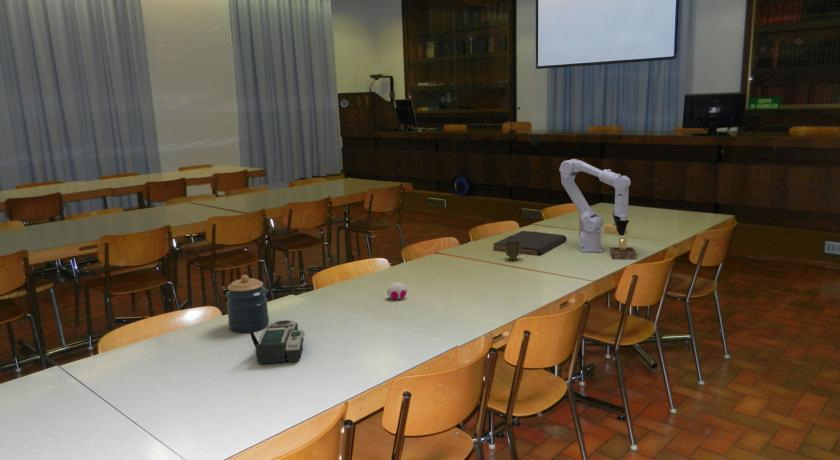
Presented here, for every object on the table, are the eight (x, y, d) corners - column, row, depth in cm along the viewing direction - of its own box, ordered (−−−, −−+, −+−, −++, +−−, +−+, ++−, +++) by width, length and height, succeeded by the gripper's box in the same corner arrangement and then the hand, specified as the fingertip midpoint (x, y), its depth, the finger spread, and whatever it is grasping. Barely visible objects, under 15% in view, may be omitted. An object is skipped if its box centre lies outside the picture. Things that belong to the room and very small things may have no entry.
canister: (253, 317, 216) (249, 267, 212) (277, 324, 207) (273, 273, 204) (220, 328, 206) (215, 276, 202) (244, 336, 198) (239, 283, 194)
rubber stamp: (604, 232, 328) (604, 209, 325) (609, 230, 332) (609, 208, 329) (622, 234, 321) (623, 211, 319) (627, 232, 325) (627, 209, 323)
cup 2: (598, 238, 313) (598, 219, 311) (581, 239, 314) (581, 219, 312) (593, 235, 322) (594, 216, 320) (577, 235, 322) (578, 216, 320)
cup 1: (520, 257, 282) (520, 240, 280) (521, 261, 275) (521, 244, 273) (504, 257, 283) (504, 240, 281) (504, 261, 276) (504, 244, 274)
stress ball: (389, 309, 229) (390, 298, 224) (385, 292, 234) (385, 281, 229) (409, 306, 230) (410, 295, 225) (404, 289, 235) (405, 278, 231)
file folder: (522, 229, 323) (566, 234, 310) (522, 237, 324) (566, 242, 311) (492, 243, 296) (540, 248, 283) (492, 251, 297) (539, 257, 284)
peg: (619, 257, 277) (619, 239, 275) (617, 255, 280) (618, 238, 278) (626, 257, 276) (627, 239, 274) (625, 255, 279) (625, 238, 278)
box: (612, 259, 274) (612, 252, 273) (609, 253, 284) (609, 247, 283) (636, 259, 272) (636, 252, 272) (632, 253, 282) (632, 247, 281)
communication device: (309, 329, 204) (307, 298, 202) (302, 363, 176) (299, 328, 174) (265, 332, 202) (262, 301, 200) (250, 367, 175) (247, 331, 173)
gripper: (633, 206, 271) (631, 236, 273) (628, 200, 285) (627, 230, 287) (616, 206, 272) (615, 236, 275) (612, 200, 286) (611, 229, 289)
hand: (620, 233), depth 281 cm, fingers open, 7 cm apart
